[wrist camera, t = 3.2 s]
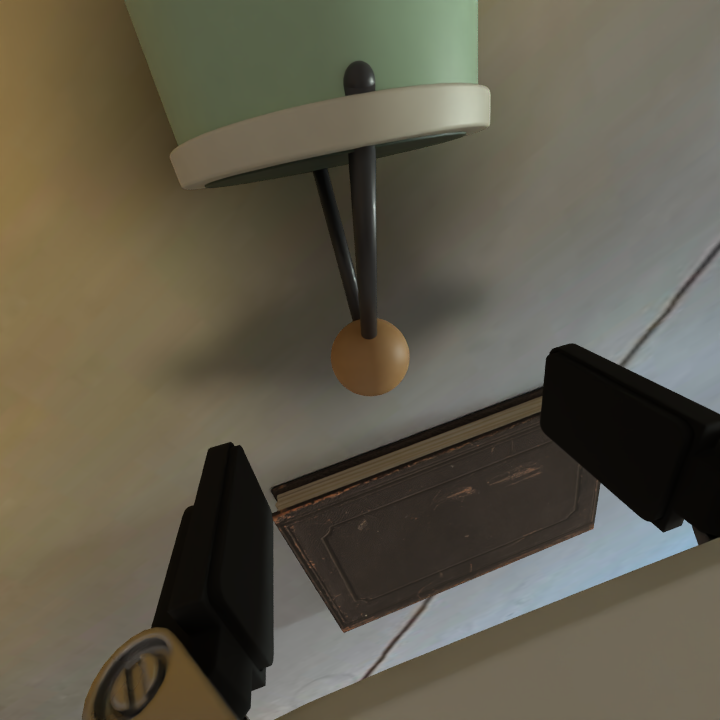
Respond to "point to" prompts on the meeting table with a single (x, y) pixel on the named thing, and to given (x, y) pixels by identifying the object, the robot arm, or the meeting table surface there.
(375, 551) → the hardcover book
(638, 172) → the meeting table surface
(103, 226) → the meeting table surface
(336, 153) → the green hollow rimmed cylinder
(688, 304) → the meeting table surface
